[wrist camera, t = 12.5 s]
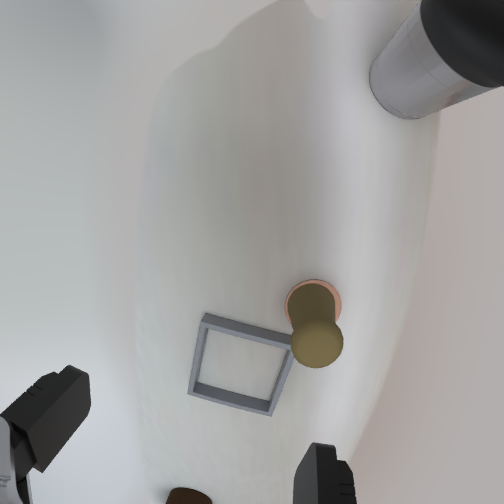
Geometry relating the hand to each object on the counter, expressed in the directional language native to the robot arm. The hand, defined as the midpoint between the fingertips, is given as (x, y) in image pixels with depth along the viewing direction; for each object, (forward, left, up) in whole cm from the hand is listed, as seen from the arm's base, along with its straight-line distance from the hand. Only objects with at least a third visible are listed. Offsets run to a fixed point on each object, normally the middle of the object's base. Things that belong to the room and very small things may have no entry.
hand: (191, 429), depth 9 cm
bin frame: (+17, +1, -30) cm, 35 cm away
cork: (+6, +8, -30) cm, 31 cm away
